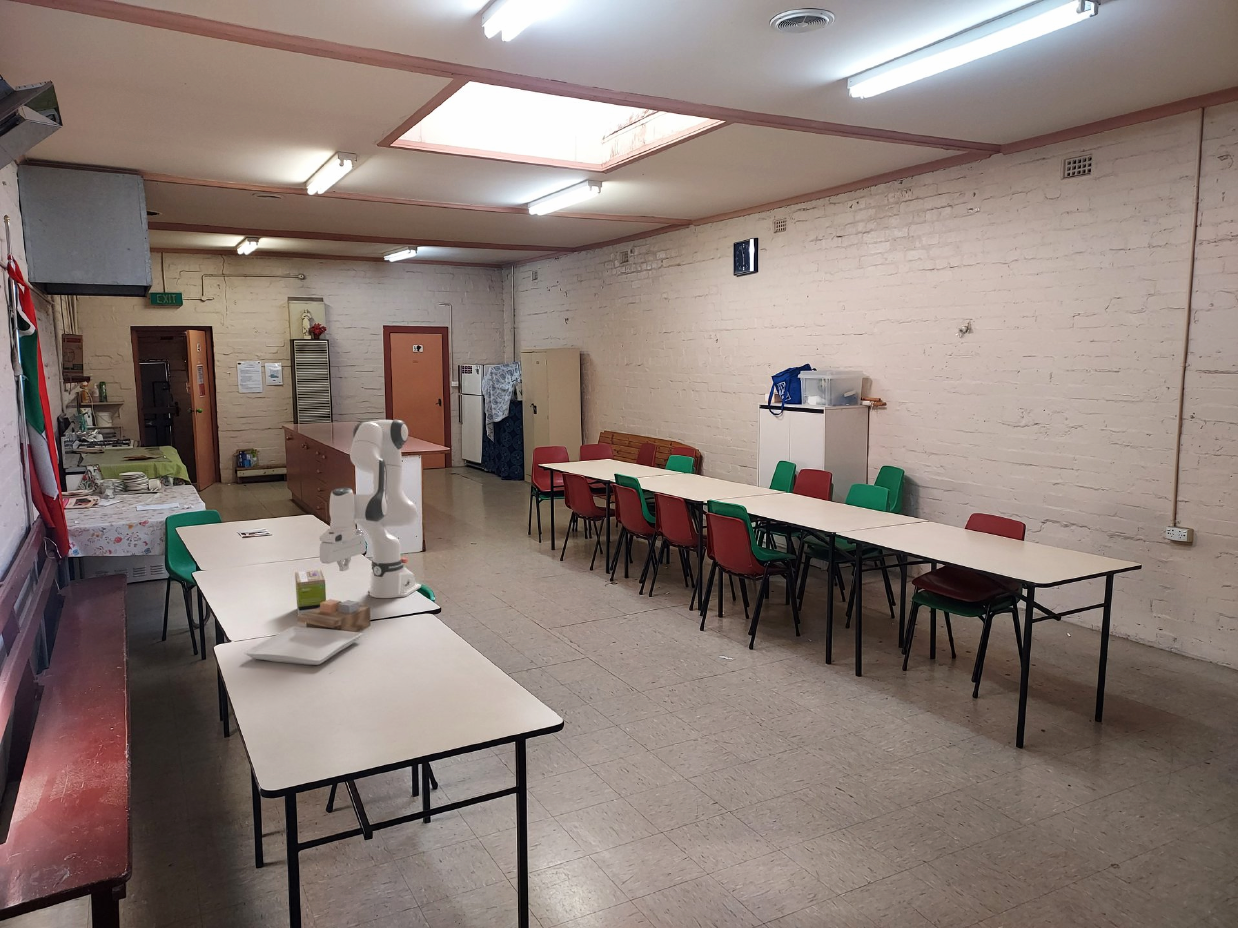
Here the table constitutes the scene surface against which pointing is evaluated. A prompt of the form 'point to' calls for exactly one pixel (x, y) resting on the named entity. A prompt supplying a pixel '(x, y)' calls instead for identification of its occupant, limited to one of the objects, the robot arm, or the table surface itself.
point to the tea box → (309, 590)
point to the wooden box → (337, 619)
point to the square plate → (303, 645)
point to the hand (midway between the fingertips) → (344, 570)
